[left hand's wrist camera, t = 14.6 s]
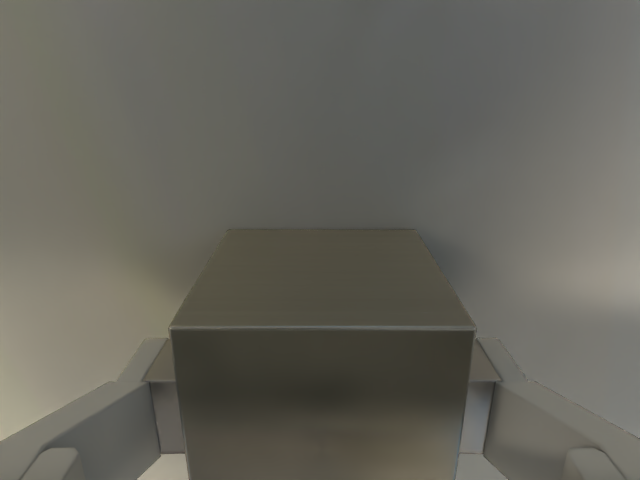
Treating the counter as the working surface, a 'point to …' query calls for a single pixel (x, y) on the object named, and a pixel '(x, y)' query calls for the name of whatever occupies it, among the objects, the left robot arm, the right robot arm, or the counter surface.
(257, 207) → the counter surface
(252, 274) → the beige cube
